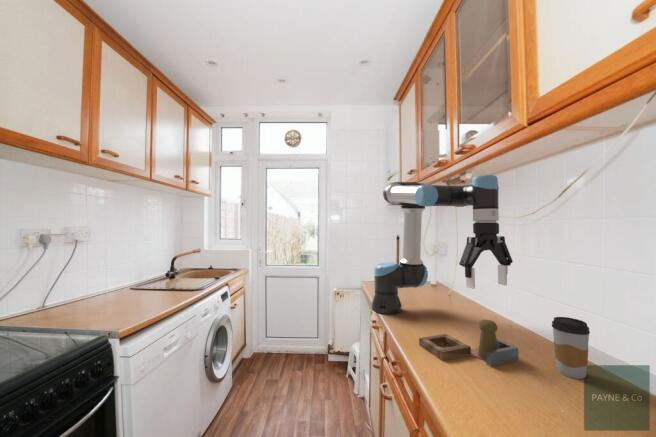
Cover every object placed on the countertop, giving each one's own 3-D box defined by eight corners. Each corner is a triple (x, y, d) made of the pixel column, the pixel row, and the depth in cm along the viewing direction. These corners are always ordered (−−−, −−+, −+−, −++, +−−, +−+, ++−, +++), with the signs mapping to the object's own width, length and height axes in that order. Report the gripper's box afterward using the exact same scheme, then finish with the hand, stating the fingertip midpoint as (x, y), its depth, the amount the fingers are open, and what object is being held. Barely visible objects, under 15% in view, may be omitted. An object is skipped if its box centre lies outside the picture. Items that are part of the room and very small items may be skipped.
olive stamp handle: (502, 359, 87) (501, 324, 87) (481, 357, 88) (481, 323, 89) (495, 350, 93) (494, 318, 93) (475, 349, 94) (474, 317, 95)
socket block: (419, 345, 99) (419, 337, 99) (445, 340, 102) (445, 333, 102) (442, 360, 88) (441, 352, 88) (470, 354, 91) (470, 346, 91)
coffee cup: (592, 373, 79) (590, 321, 80) (590, 385, 74) (588, 328, 74) (555, 363, 85) (553, 314, 86) (550, 373, 80) (549, 321, 80)
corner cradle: (461, 350, 94) (461, 338, 94) (487, 345, 98) (487, 334, 98) (490, 366, 83) (490, 353, 84) (518, 360, 87) (518, 348, 87)
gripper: (464, 222, 84) (465, 291, 84) (524, 221, 92) (525, 285, 92) (446, 222, 91) (448, 286, 91) (503, 221, 99) (505, 281, 99)
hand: (487, 286), depth 91 cm, fingers open, 13 cm apart
